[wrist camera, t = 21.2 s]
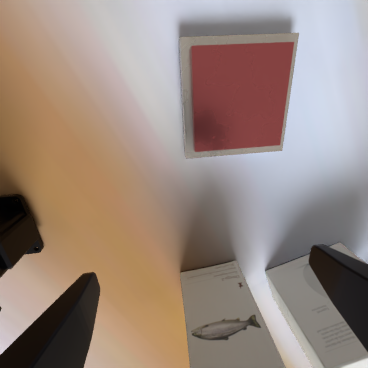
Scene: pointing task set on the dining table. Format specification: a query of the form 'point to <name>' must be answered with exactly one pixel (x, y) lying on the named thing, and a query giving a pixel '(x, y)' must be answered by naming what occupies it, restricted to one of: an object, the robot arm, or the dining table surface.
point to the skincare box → (315, 315)
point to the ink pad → (235, 92)
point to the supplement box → (225, 321)
